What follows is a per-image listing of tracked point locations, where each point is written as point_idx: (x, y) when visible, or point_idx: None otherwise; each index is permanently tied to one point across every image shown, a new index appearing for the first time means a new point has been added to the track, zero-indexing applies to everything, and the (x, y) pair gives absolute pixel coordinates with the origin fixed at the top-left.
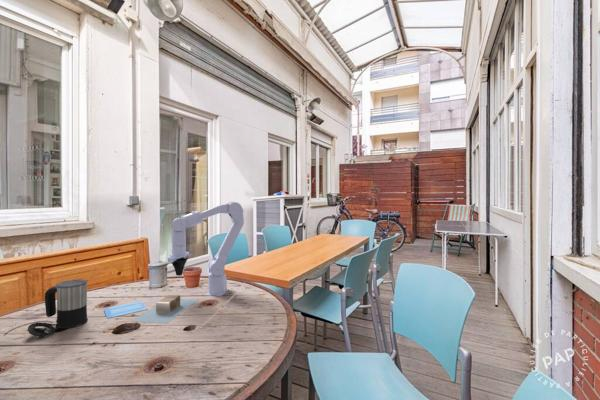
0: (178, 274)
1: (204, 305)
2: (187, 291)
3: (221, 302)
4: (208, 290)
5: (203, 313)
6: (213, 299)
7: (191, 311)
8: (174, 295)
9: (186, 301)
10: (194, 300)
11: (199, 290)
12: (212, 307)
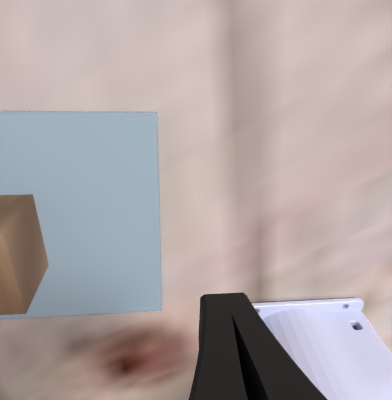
0: (200, 333)
1: (102, 354)
2: (345, 160)
3: (157, 394)
4: (278, 327)
5: (5, 389)
6: (193, 355)
7: (5, 340)
8: (11, 278)
9: (117, 267)
10: (144, 299)
11: (357, 229)
12: (86, 389)
